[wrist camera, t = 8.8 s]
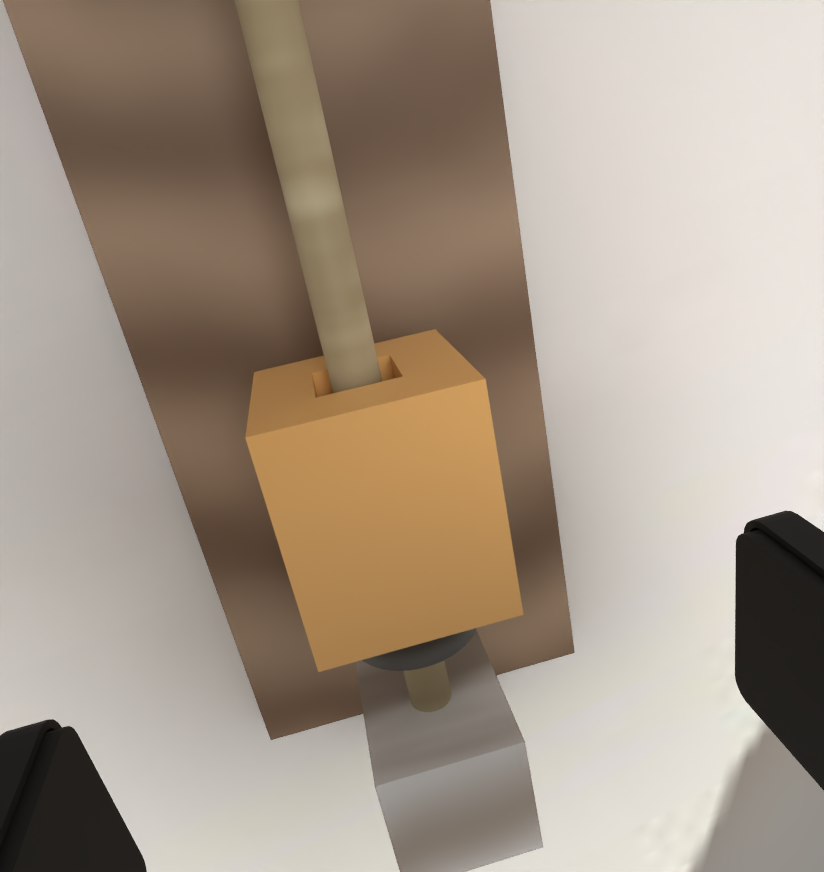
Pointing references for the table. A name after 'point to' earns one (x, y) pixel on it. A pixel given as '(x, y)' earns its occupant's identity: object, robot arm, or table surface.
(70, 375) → the table surface
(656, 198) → the table surface
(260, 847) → the table surface
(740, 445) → the table surface
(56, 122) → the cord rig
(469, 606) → the sleeve
